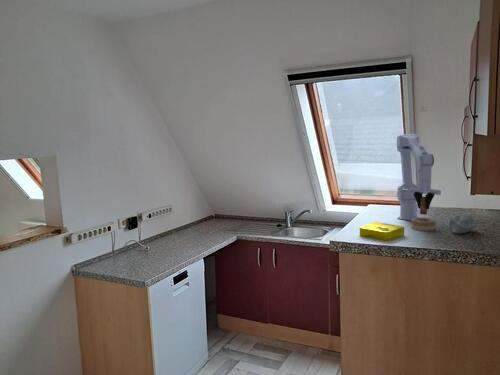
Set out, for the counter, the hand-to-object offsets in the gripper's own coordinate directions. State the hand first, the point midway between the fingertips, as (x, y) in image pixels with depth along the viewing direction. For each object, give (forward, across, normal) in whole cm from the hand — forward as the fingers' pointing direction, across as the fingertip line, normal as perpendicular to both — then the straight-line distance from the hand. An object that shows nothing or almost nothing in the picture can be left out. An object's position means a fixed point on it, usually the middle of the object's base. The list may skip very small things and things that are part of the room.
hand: (423, 208), depth 194 cm
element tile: (+10, -9, -24) cm, 28 cm away
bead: (+9, 0, 0) cm, 9 cm away
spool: (+10, +16, +3) cm, 19 cm away
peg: (+2, 0, 0) cm, 3 cm away
